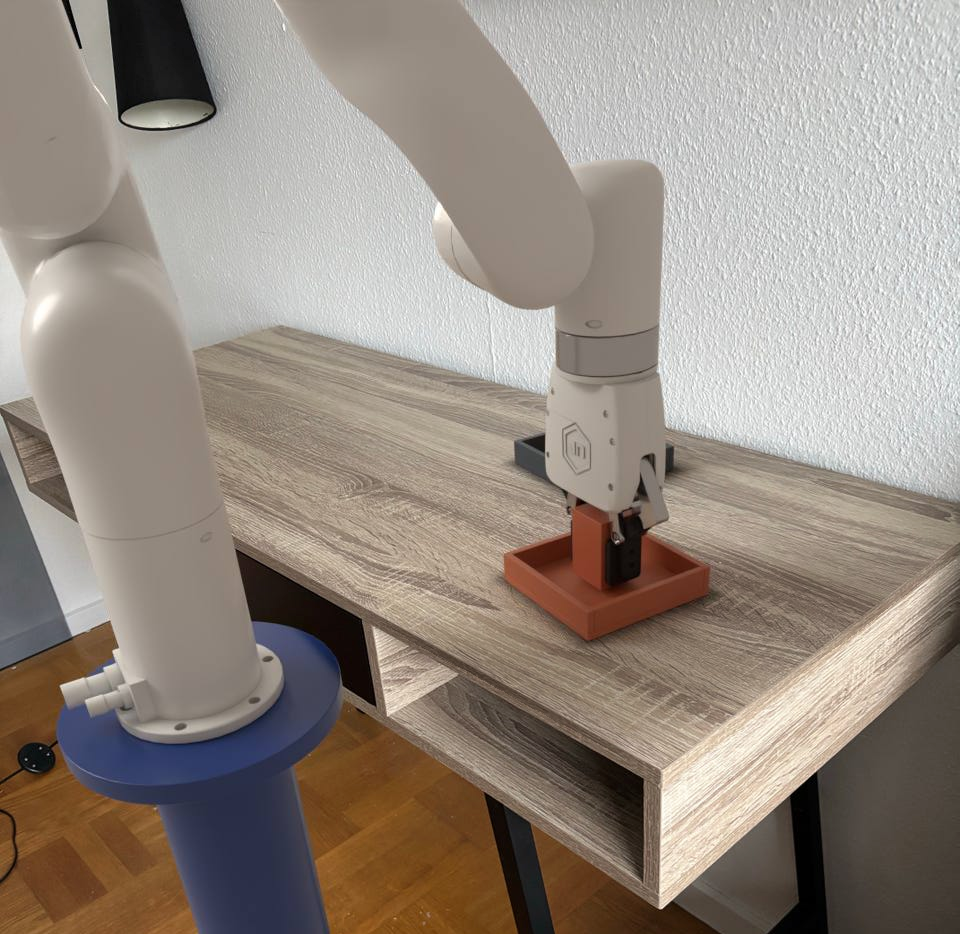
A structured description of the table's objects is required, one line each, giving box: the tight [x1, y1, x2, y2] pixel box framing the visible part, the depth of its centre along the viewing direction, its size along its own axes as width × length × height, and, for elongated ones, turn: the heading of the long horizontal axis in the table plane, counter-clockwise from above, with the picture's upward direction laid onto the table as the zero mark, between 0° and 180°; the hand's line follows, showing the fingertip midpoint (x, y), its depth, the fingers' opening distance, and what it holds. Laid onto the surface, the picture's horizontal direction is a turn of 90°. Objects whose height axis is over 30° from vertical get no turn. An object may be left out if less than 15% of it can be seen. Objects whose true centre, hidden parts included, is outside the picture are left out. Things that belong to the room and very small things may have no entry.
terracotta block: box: [571, 503, 632, 591], centre depth 78 cm, size 4×4×6 cm
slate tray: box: [513, 431, 675, 489], centre depth 101 cm, size 12×12×3 cm
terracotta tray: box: [503, 531, 711, 642], centre depth 79 cm, size 12×12×3 cm
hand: (605, 567), depth 79 cm, fingers closed on terracotta block, 4 cm apart
